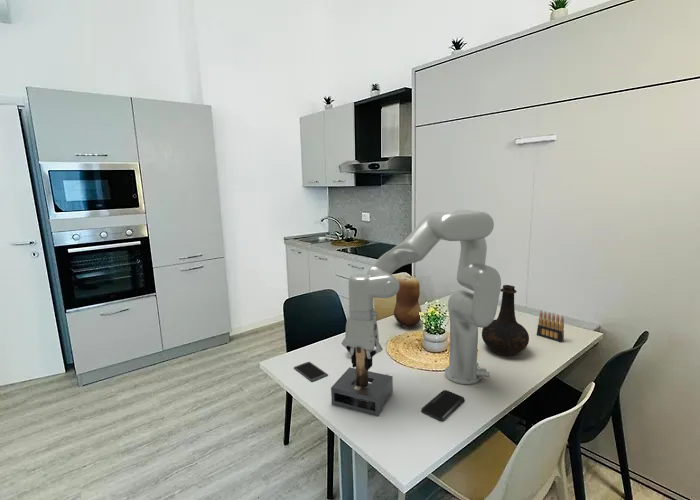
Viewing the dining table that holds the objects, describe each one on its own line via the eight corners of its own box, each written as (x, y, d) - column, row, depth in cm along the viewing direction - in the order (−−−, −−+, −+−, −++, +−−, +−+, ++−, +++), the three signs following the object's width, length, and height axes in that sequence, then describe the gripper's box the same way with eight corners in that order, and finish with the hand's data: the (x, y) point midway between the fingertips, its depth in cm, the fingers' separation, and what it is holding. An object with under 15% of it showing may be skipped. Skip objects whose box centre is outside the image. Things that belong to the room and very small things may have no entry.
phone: (466, 398, 117) (442, 420, 107) (465, 401, 117) (442, 423, 107) (444, 389, 123) (419, 409, 112) (443, 392, 123) (419, 412, 112)
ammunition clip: (536, 335, 165) (538, 310, 163) (538, 334, 166) (540, 309, 164) (561, 342, 157) (564, 316, 154) (563, 341, 158) (565, 315, 156)
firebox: (392, 392, 123) (392, 375, 122) (378, 416, 110) (378, 398, 109) (349, 382, 129) (349, 366, 128) (331, 404, 117) (331, 387, 116)
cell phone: (312, 383, 130) (312, 381, 130) (293, 368, 141) (292, 367, 141) (328, 376, 135) (328, 374, 135) (309, 362, 146) (309, 361, 145)
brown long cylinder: (358, 380, 121) (358, 335, 119) (370, 382, 120) (369, 337, 117) (353, 386, 117) (352, 340, 115) (364, 389, 116) (364, 342, 113)
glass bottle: (478, 340, 161) (480, 279, 156) (521, 342, 158) (525, 280, 153) (484, 359, 144) (487, 291, 139) (533, 362, 141) (538, 292, 136)
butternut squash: (426, 324, 180) (427, 275, 176) (412, 333, 170) (412, 281, 166) (403, 318, 189) (403, 271, 185) (388, 326, 179) (387, 277, 175)
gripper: (390, 312, 114) (390, 366, 118) (342, 306, 121) (343, 357, 125) (382, 320, 108) (382, 377, 111) (332, 313, 115) (333, 367, 118)
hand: (361, 366), depth 118 cm, fingers closed on brown long cylinder, 4 cm apart
